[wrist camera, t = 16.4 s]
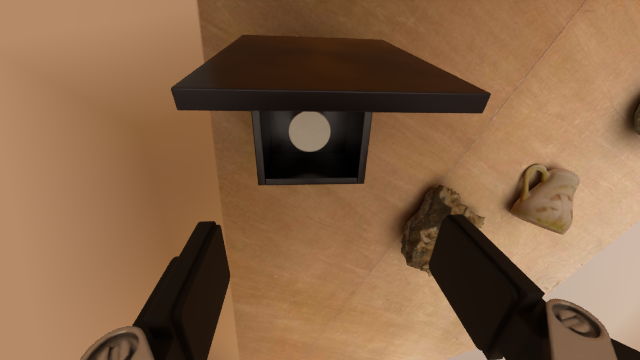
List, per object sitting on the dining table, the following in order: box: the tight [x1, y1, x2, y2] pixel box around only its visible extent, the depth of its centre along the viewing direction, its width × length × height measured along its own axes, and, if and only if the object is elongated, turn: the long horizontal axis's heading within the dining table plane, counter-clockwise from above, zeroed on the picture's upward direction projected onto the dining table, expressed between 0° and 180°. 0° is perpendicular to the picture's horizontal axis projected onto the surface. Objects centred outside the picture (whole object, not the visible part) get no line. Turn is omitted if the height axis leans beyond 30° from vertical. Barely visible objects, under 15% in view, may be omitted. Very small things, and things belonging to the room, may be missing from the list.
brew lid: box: [171, 35, 491, 113], centre depth 15 cm, size 14×12×1 cm
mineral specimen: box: [401, 185, 485, 277], centre depth 38 cm, size 14×13×10 cm
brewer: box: [251, 111, 372, 185], centre depth 28 cm, size 14×12×9 cm
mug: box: [510, 164, 580, 234], centre depth 39 cm, size 8×10×10 cm
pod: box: [289, 111, 330, 152], centre depth 30 cm, size 5×5×4 cm
